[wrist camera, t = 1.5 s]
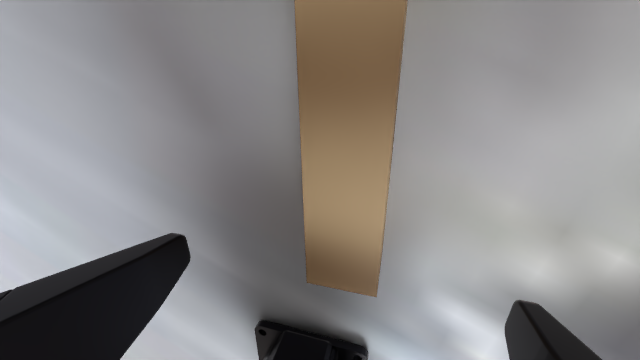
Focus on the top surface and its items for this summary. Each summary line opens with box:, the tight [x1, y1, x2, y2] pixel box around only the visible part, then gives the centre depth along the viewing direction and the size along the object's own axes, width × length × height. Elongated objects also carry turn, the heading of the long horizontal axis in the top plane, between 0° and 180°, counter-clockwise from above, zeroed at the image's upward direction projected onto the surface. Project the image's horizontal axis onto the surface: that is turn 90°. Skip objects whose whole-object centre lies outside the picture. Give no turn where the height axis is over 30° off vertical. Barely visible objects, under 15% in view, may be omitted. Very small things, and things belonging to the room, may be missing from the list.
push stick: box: [295, 0, 408, 297], centre depth 8 cm, size 14×3×3 cm, turn 1°
